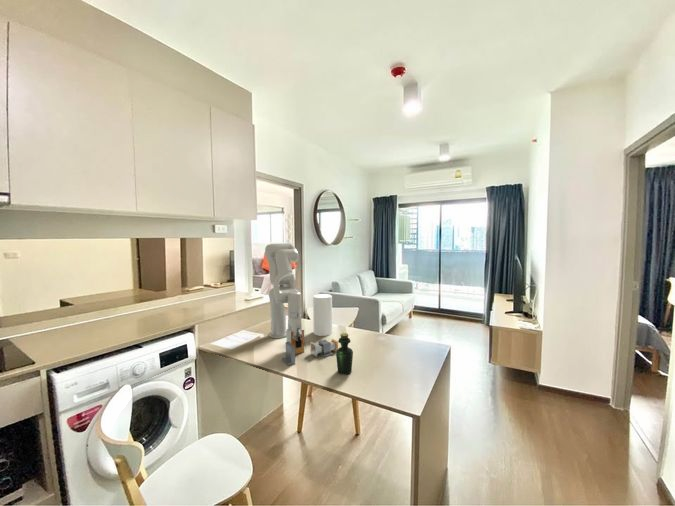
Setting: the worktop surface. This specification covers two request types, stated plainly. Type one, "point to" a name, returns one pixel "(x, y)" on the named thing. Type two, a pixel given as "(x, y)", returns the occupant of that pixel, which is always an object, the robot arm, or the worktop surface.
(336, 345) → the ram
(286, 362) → the plate
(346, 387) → the worktop surface
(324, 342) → the guide block
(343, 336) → the potion bottle
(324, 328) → the cylinder
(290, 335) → the small box
